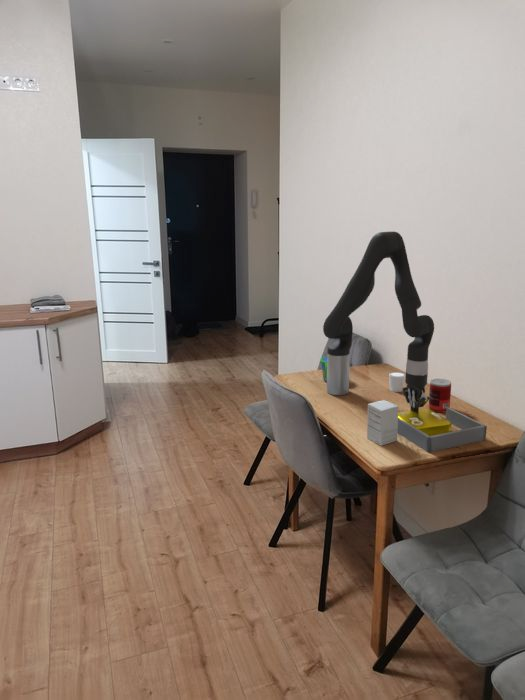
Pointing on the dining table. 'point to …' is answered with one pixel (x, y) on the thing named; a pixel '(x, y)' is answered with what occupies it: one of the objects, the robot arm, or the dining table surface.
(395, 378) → the white piece
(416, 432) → the box
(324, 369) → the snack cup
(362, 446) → the dining table surface
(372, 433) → the white rectangular box
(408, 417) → the element tile
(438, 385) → the canned food
